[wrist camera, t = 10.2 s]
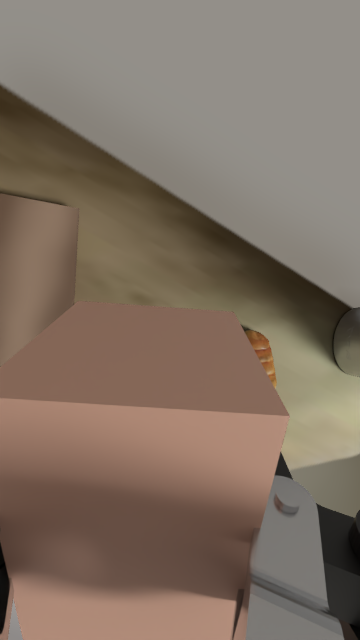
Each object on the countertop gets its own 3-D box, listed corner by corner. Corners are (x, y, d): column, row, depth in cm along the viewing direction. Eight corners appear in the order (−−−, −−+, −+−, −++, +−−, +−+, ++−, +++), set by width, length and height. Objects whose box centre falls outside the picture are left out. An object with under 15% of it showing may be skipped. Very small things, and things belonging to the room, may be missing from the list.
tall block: (202, 521, 13) (233, 311, 9) (215, 703, 8) (289, 416, 4) (90, 516, 12) (78, 301, 9) (36, 696, 8) (-35, 396, 4)
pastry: (219, 326, 30) (241, 329, 26) (269, 331, 32) (295, 335, 29) (209, 414, 30) (230, 429, 26) (260, 412, 33) (284, 425, 29)
